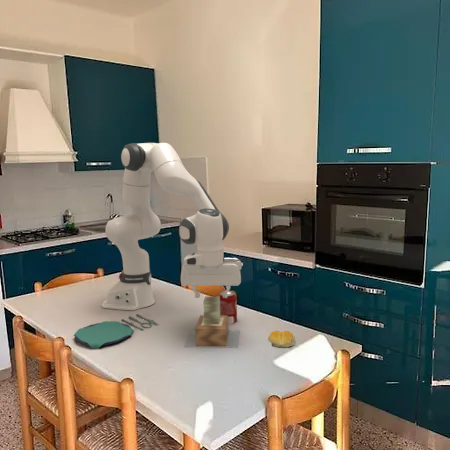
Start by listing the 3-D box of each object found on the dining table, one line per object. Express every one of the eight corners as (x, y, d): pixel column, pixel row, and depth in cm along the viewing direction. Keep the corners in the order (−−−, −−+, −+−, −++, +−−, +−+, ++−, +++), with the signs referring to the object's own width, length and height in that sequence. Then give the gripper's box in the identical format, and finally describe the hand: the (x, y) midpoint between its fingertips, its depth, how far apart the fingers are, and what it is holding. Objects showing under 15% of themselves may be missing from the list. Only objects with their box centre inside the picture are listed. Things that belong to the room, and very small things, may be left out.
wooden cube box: (196, 345, 144) (195, 328, 143) (201, 331, 156) (200, 314, 155) (226, 346, 143) (225, 328, 142) (228, 331, 155) (228, 315, 154)
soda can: (235, 327, 161) (234, 296, 159) (217, 326, 162) (216, 295, 160) (238, 320, 168) (237, 290, 166) (221, 319, 169) (220, 289, 167)
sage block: (204, 324, 146) (203, 301, 145) (206, 318, 151) (205, 296, 150) (218, 324, 146) (218, 301, 144) (220, 318, 151) (219, 296, 149)
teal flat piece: (65, 337, 156) (64, 331, 156) (136, 315, 177) (136, 310, 177) (92, 355, 142) (91, 348, 142) (165, 329, 163) (165, 323, 163)
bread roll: (269, 337, 152) (269, 326, 152) (295, 339, 150) (295, 328, 150) (266, 347, 144) (266, 335, 144) (293, 349, 142) (293, 338, 142)
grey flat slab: (183, 349, 143) (183, 347, 143) (190, 332, 157) (190, 330, 157) (238, 350, 142) (238, 347, 142) (240, 333, 156) (240, 330, 156)
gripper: (241, 255, 147) (242, 294, 149) (182, 255, 149) (183, 294, 151) (241, 260, 141) (241, 300, 143) (178, 259, 143) (180, 300, 145)
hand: (211, 297), depth 147 cm, fingers open, 8 cm apart
